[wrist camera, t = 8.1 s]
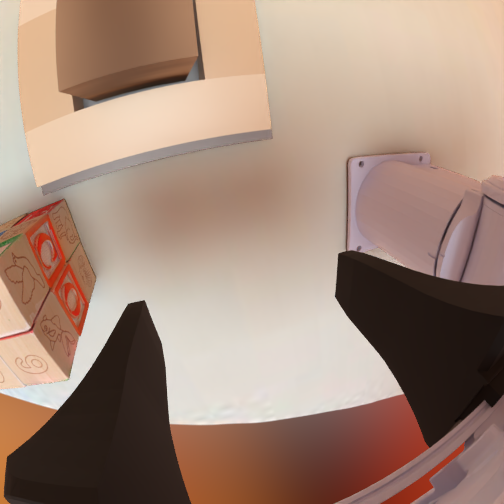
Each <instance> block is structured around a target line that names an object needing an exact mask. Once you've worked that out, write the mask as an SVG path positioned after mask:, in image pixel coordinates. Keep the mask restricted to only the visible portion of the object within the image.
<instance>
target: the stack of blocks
mask: <svg viewBox="0 0 504 504" xmlns="http://www.w3.org/2000/svg"><path fill="white" fill-rule="evenodd" d="M95 282H96V277H95V275H94V273H93V271H92V268H91V266H90V264H89V262H88V259H87V257H86V255H85V252H84V250H83V247H82V245H81V243H80V239H79V236H78V233H77V231H76V228H75V225H74V223H73V220H72V217H71V215H70V212H69V209H68V207H67V204H66V202H65V200H64V199H62V200H60V201H57V202H55V203H53V204H50V205H48V206H46V207H43V208H41V209H39V210H36V211H34V212H32V213H30V214H24V215H22V216H20V217H18V218H15V219H13V220H11V221H9V222H7V223H5V224H3V225H1V226H0V389H9V388H21V387H26V386H27V385H38V384H46V383H53V382H60V381H66V380H69V378H70V373H71V369H72V364H73V360H74V355H75V351H76V347H77V343H78V338H79V336H81V333H82V330H83V326H84V322H85V319H86V315H87V311H88V308H89V303H90V299H91V296H92V292H93V289H94V285H95Z"/></svg>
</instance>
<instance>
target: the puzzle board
mask: <svg viewBox="0 0 504 504" xmlns="http://www.w3.org/2000/svg"><path fill="white" fill-rule="evenodd" d="M192 1H193V11H194V20H195V30H196V39H197V47H198V58H197V60H196V61H195V63H194V65H193V67H192V69H191V71H190V73H189V74H188V76H187V78H186V80H185V81H180V82H174V83H169V84H164V85H159V86H154V87H149V88H145V89H141V90H136V91H132V92H128V93H125V94H121V95H117V96H114V97H110V98H107V99H103V100H100V101H97V102H95V101H91V100H88V99H84V98H81V97H77V96H73V95H70V94H66V93H62V92H59V90H58V79H57V66H56V3H57V0H21V2H20V12H19V25H18V78H19V91H20V102H21V110H22V118H23V124H24V131H25V136H26V142H27V147H28V152H29V157H30V161H31V166H32V170H33V174H34V178H35V182H36V185H37V187H40V186H41V188H42V192H43V195H46V194H48V193H51V192H54V191H56V190H59V189H62V188H65V187H68V186H70V185H73V184H76V183H79V182H82V181H85V180H88V179H91V178H94V177H97V176H101V175H104V174H107V173H111V172H114V171H117V170H121V169H124V168H128V167H132V166H135V165H139V164H143V163H147V162H151V161H155V160H159V159H163V158H167V157H172V156H176V155H181V154H185V153H190V152H195V151H200V150H205V149H210V148H215V147H221V146H227V145H233V144H239V143H245V142H252V141H259V140H267V139H273V138H272V129H271V120H270V111H269V103H268V94H267V86H266V78H265V70H264V63H263V55H262V48H261V41H260V34H259V27H258V20H257V14H256V7H255V1H254V0H192Z"/></svg>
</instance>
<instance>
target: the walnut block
mask: <svg viewBox="0 0 504 504" xmlns="http://www.w3.org/2000/svg"><path fill="white" fill-rule="evenodd" d="M197 58H198V47H197V39H196V30H195V20H194V11H193V1H192V0H57V3H56V66H57V79H58V90H59V92H62V93H66V94H70V95H73V96H77V97H81V98H84V99H88V100H91V101H95V102H97V101H100V100H103V99H107V98H110V97H114V96H117V95H121V94H125V93H128V92H132V91H136V90H141V89H145V88H149V87H154V86H159V85H164V84H169V83H174V82H180V81H185V80H186V78H187V76H188V74H189V73H190V71H191V69H192V67H193V65H194V63H195V61H196V60H197Z"/></svg>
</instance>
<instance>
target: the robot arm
mask: <svg viewBox="0 0 504 504" xmlns="http://www.w3.org/2000/svg"><path fill="white" fill-rule="evenodd" d="M419 157H420V158H419ZM360 161H361V165H360V166H359V162H360ZM358 246H359V247H358ZM357 247H358V249H357ZM378 247H379V248H381V249H382V250H383V251H385V252H386V253H388V254H389V255H391V256H392V257H393V258H395V259H396V260H398V261H399V262H400V263H402V264H403V265H405V266H406V267H407V268H406V267H403V266H400V265H397V264H394V263H391V262H388V261H386V260H383V259H380V258H377V257H374V256H371V255H368V254H365V253H362V252H365V251H369V250H372V249H375V248H378ZM335 297H336V299H337V301H338V302H339V304H340V306H341V307H342V309H343V310H344V312H345V313H346V315H347V316H348V318H349V319H350V320H351V321H352V322H353V324H354V325H355V326H356V327H357V328H358V330H359V331H360V332H361V333H362V334H363V335H364V337H365V338H366V339H367V340H368V341H369V342H370V344H371V345H372V346H373V347H374V348H375V350H376V351H377V352H378V353H379V354H380V356H381V357H382V358H383V360H384V361H385V362H386V364H387V366H388V367H389V369H390V370H391V372H392V373H393V375H394V377H395V378H396V380H397V382H398V383H399V385H400V387H401V389H402V391H403V392H404V394H405V396H406V398H407V400H408V402H409V404H410V406H411V408H412V410H413V412H414V414H415V417H416V419H417V422H418V424H419V427H420V429H421V432H422V434H423V437H424V440H425V442H426V444H427V445H428V446H429V447H430V448H429V449H428V450H426V451H425V452H424V453H422V454H421V455H420V456H418V457H417V458H415V459H414V460H413V461H411V462H409V463H408V464H406V465H405V466H403V467H402V468H400V469H399V470H397V471H395V472H394V473H392V474H391V475H389V476H387V477H386V478H384V479H382V480H380V481H379V482H377V483H375V484H373V485H372V486H370V487H368V488H366V489H364V490H362V491H360V492H358V493H356V494H354V495H352V496H350V497H348V498H346V499H344V500H342V501H340V502H337V503H335V504H380V503H382V502H383V501H385V500H387V499H388V498H390V497H392V496H393V495H395V494H397V493H398V492H400V491H401V490H403V489H404V488H406V487H407V486H409V485H410V484H412V483H413V482H415V481H416V480H417V479H419V478H420V477H422V476H423V475H425V474H426V473H427V472H429V471H430V470H431V469H433V468H434V467H435V466H436V465H438V464H439V463H440V462H441V461H443V460H444V459H445V458H446V457H447V456H449V455H450V454H451V453H452V452H453V451H454V450H456V449H457V448H458V447H459V446H460V445H461V444H462V443H464V442H465V445H464V446H465V448H464V451H463V452H462V453H461V454H459V455H458V456H457V457H456V458H455V459H453V460H452V461H451V462H450V463H448V464H447V465H446V466H445V467H443V468H442V469H441V470H440V471H439V472H437V473H436V474H435V475H434V476H433V477H431V478H430V482H431V483H432V485H433V486H434V488H433V489H431V490H430V491H428V492H427V493H426V494H424V495H423V496H421V497H420V498H419V499H417V500H416V501H414V502H413V503H411V504H504V177H501V176H496V175H492V176H491V177H489V178H488V179H487V180H483V182H482V184H481V183H480V182H478V181H476V180H474V179H471V178H469V177H466V176H463V175H461V174H458V173H455V172H452V171H449V170H446V169H443V168H440V167H437V166H434V165H431V164H430V154H429V153H426V152H418V153H399V154H385V155H372V156H361V157H353V158H351V159H350V160H349V162H348V238H347V251H346V252H342V253H338V267H337V281H336V292H335ZM4 497H5V499H6V500H7V501H8V502H9V503H10V504H191V502H190V500H189V496H188V493H187V491H186V487H185V484H184V481H183V479H182V475H181V471H180V468H179V464H178V461H177V457H176V453H175V449H174V444H173V440H172V436H171V431H170V424H169V414H168V400H167V385H166V367H165V361H164V355H163V349H162V343H161V341H160V338H159V336H158V333H157V331H156V328H155V326H154V323H153V321H152V318H151V316H150V313H149V310H148V308H147V305H146V302H145V300H143V301H139V302H134V303H130V304H128V305H127V307H126V308H125V310H124V312H123V314H122V315H121V317H120V319H119V321H118V323H117V324H116V326H115V328H114V330H113V332H112V333H111V335H110V337H109V339H108V340H107V342H106V344H105V346H104V347H103V349H102V351H101V352H100V354H99V355H98V357H97V359H96V360H95V362H94V364H93V365H92V367H91V368H90V370H89V371H88V373H87V374H86V376H85V377H84V378H83V380H82V381H81V383H80V384H79V385H78V387H77V388H76V389H75V391H74V392H73V393H72V394H71V396H70V397H69V398H68V399H67V400H66V401H65V403H64V404H63V405H62V406H61V407H60V408H59V410H58V411H57V412H56V413H55V414H54V415H53V416H52V418H50V420H49V421H48V422H47V423H46V424H45V425H44V426H43V427H42V428H41V429H40V430H39V431H37V432H36V433H35V434H34V435H33V436H32V437H31V438H30V439H29V440H28V441H26V442H25V443H24V444H23V445H21V446H20V447H19V448H18V449H16V450H15V451H14V452H13V453H12V454H10V455H9V456H8V457H7V463H6V472H5V486H4Z"/></svg>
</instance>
